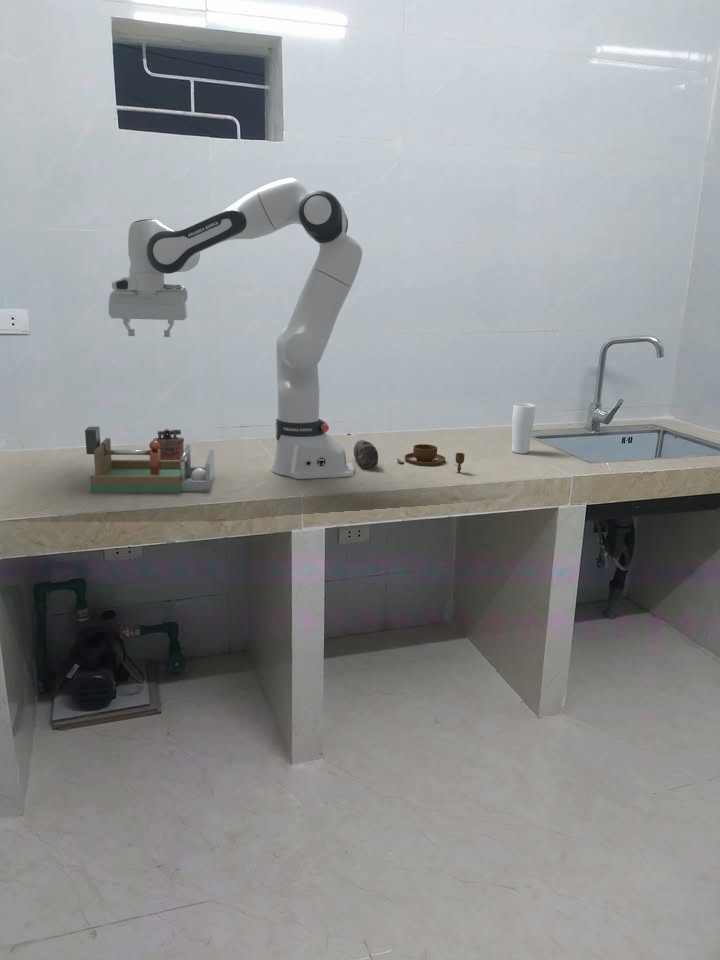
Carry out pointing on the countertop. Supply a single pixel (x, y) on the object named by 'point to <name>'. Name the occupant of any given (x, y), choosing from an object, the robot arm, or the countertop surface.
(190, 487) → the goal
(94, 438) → the rod
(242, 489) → the countertop surface
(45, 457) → the countertop surface
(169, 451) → the lighter
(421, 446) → the place setting
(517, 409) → the drinking glass
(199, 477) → the ball
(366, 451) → the perforated stone tool
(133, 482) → the pitch
